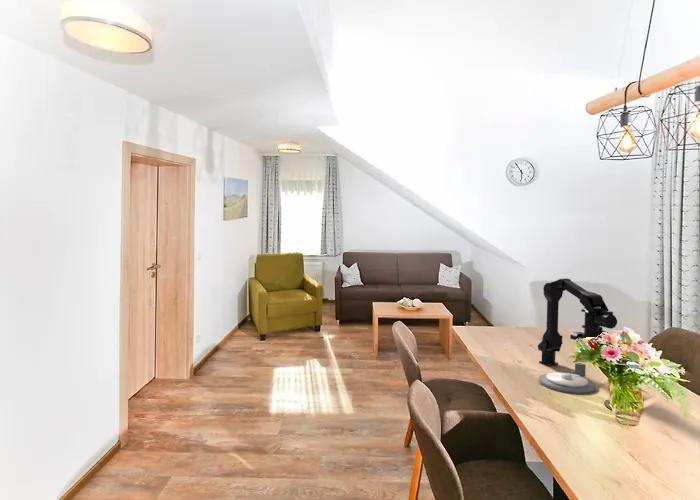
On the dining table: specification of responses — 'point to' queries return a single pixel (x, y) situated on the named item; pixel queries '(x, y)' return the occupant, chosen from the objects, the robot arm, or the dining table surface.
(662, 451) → the dining table surface
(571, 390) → the dial base
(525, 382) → the dining table surface
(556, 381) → the dial
